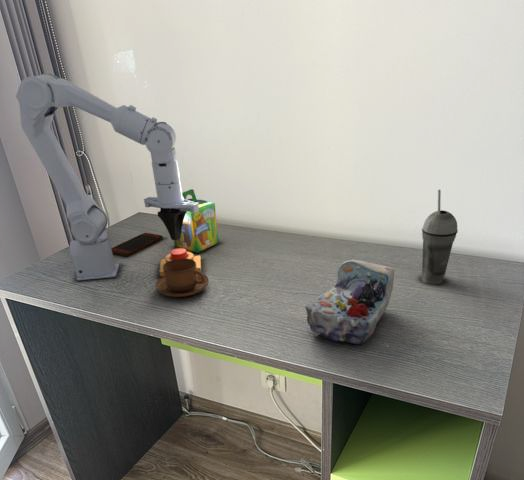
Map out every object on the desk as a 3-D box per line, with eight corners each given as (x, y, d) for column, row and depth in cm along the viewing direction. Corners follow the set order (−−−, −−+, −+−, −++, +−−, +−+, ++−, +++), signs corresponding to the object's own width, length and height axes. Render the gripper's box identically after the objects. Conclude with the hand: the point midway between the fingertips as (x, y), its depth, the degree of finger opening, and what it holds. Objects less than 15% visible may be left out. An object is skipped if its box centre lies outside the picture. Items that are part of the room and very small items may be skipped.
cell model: (402, 258, 95) (371, 305, 81) (397, 306, 101) (367, 359, 87) (338, 249, 101) (298, 292, 86) (336, 295, 107) (299, 343, 92)
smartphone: (163, 235, 142) (126, 253, 132) (163, 238, 143) (127, 256, 132) (145, 231, 146) (107, 249, 135) (145, 234, 146) (108, 252, 136)
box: (160, 276, 121) (157, 264, 119) (162, 264, 127) (160, 252, 126) (201, 272, 121) (199, 260, 120) (200, 260, 128) (199, 248, 126)
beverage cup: (451, 287, 107) (466, 195, 96) (416, 286, 109) (428, 195, 98) (447, 273, 113) (462, 184, 102) (414, 272, 115) (425, 185, 104)
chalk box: (197, 254, 132) (190, 198, 124) (173, 247, 137) (164, 193, 128) (220, 243, 138) (214, 189, 130) (196, 237, 143) (189, 185, 134)
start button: (171, 261, 121) (169, 255, 120) (171, 255, 124) (170, 249, 123) (187, 260, 121) (186, 253, 120) (187, 254, 125) (186, 247, 124)
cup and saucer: (213, 278, 118) (210, 254, 115) (203, 301, 108) (200, 276, 105) (165, 278, 119) (160, 254, 116) (150, 302, 110) (145, 276, 106)
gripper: (203, 179, 112) (210, 237, 120) (153, 175, 119) (163, 229, 126) (185, 187, 107) (193, 247, 115) (134, 182, 114) (144, 239, 121)
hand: (176, 238), depth 120 cm, fingers closed
